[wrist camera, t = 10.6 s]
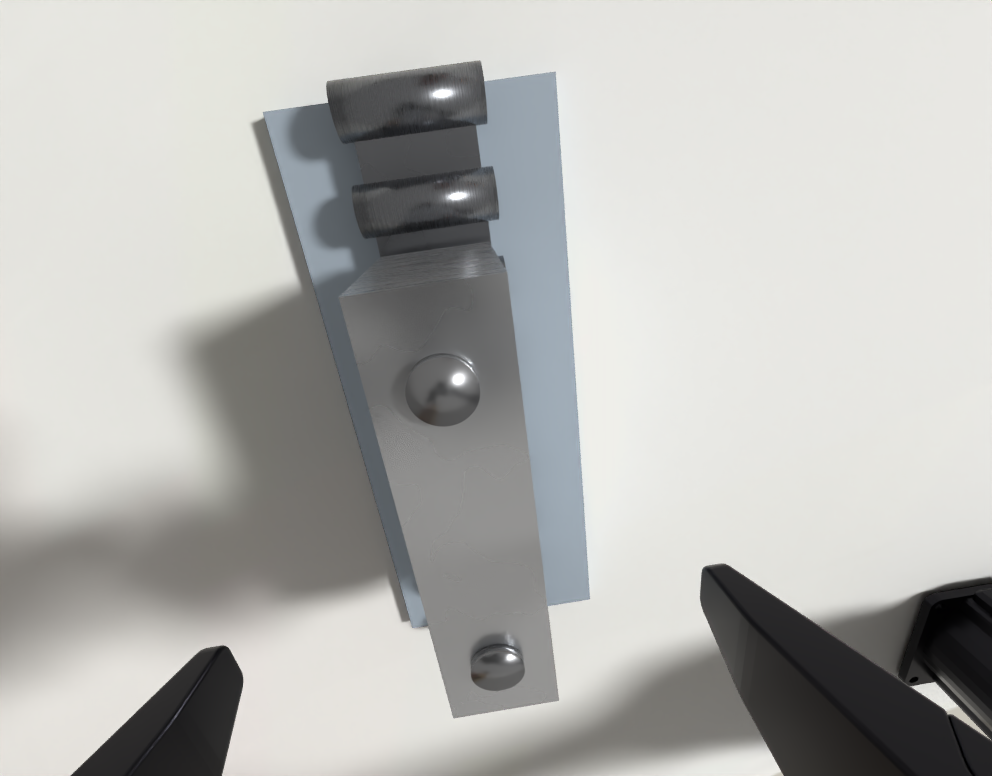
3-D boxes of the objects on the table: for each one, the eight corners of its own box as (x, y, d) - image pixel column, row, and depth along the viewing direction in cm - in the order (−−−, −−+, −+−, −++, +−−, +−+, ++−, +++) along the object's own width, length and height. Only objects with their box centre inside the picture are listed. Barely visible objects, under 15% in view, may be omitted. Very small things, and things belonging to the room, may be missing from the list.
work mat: (586, 590, 21) (589, 599, 21) (413, 618, 21) (412, 628, 21) (552, 75, 13) (555, 71, 13) (269, 114, 13) (263, 112, 13)
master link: (532, 567, 18) (561, 711, 13) (454, 579, 18) (453, 729, 13) (488, 241, 13) (508, 275, 8) (380, 257, 13) (334, 301, 8)
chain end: (513, 364, 16) (519, 382, 15) (404, 381, 16) (399, 400, 14) (477, 69, 13) (480, 53, 11) (337, 88, 12) (321, 75, 11)
